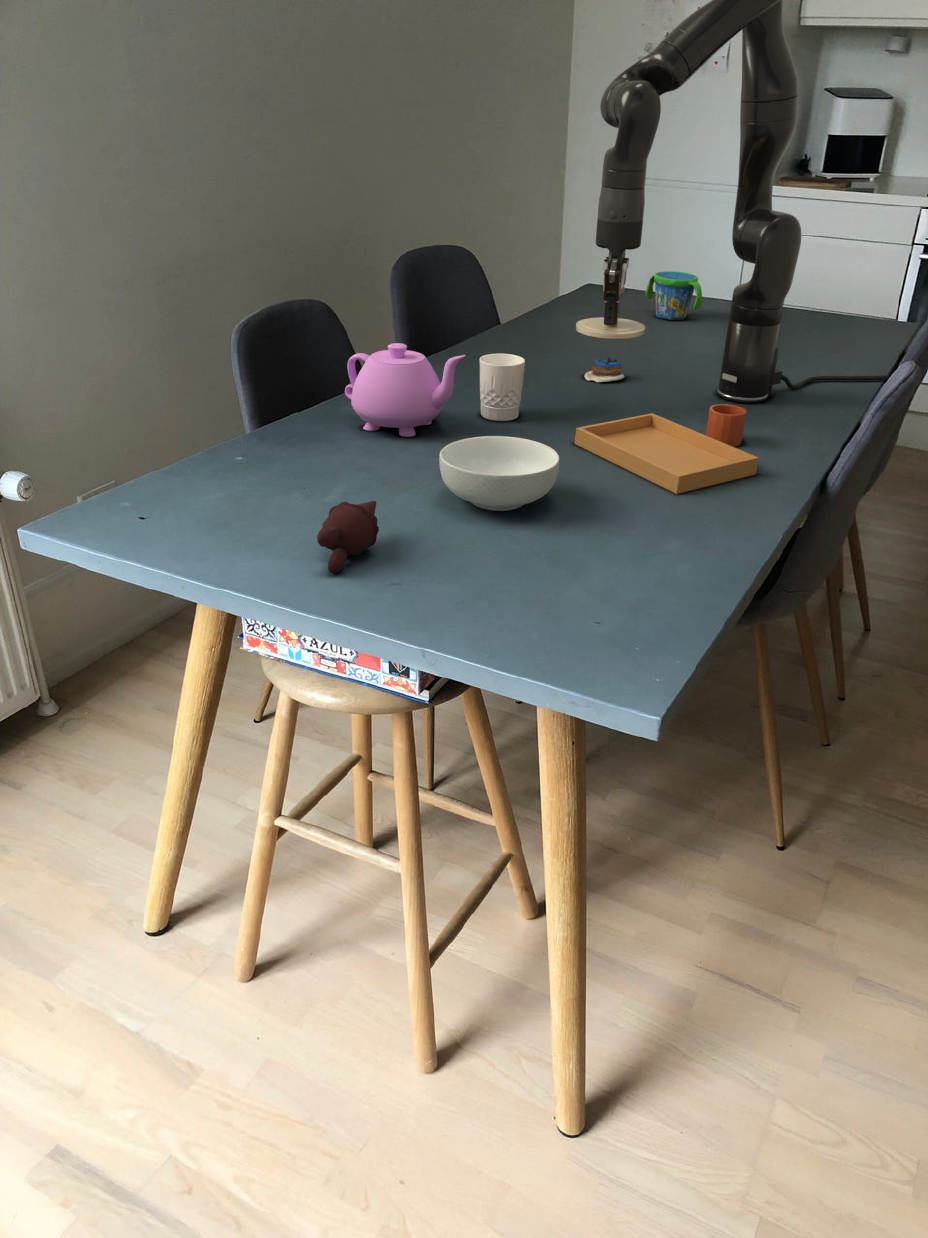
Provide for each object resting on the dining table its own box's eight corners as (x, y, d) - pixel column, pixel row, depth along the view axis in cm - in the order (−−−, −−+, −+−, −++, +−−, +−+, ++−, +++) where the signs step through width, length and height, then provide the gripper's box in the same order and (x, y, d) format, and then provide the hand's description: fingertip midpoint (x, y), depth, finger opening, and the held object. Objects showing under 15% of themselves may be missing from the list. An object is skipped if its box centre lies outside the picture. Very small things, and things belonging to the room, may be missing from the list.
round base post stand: (615, 318, 182) (618, 277, 178) (659, 333, 173) (664, 289, 169) (561, 326, 176) (564, 283, 173) (604, 342, 167) (608, 297, 164)
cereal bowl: (568, 488, 149) (572, 443, 146) (539, 532, 135) (542, 482, 132) (460, 472, 154) (462, 427, 150) (421, 512, 140) (421, 464, 136)
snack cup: (709, 321, 246) (715, 278, 241) (678, 326, 241) (684, 282, 236) (663, 309, 257) (668, 267, 252) (633, 313, 252) (638, 271, 247)
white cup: (518, 424, 174) (521, 367, 169) (473, 420, 176) (475, 363, 171) (524, 410, 181) (528, 355, 176) (482, 406, 182) (484, 351, 177)
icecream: (342, 480, 133) (289, 532, 121) (392, 475, 130) (342, 528, 118) (357, 526, 136) (307, 582, 124) (406, 523, 133) (359, 579, 121)
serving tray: (650, 428, 174) (652, 412, 173) (755, 474, 156) (758, 457, 155) (574, 443, 166) (575, 427, 165) (676, 494, 148) (679, 476, 147)
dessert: (625, 369, 204) (625, 350, 198) (624, 395, 201) (624, 376, 195) (585, 369, 205) (584, 350, 199) (583, 396, 202) (583, 377, 197)
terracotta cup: (723, 433, 173) (727, 402, 170) (748, 443, 169) (754, 411, 166) (697, 438, 170) (702, 407, 168) (723, 449, 166) (728, 417, 163)
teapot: (479, 422, 175) (482, 342, 168) (444, 449, 162) (446, 365, 155) (366, 404, 182) (364, 327, 175) (324, 429, 169) (320, 347, 162)
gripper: (639, 223, 159) (629, 334, 167) (646, 211, 171) (636, 315, 179) (592, 221, 160) (584, 330, 169) (602, 209, 172) (594, 312, 181)
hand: (611, 322), depth 174 cm, fingers closed on round base post stand, 2 cm apart
